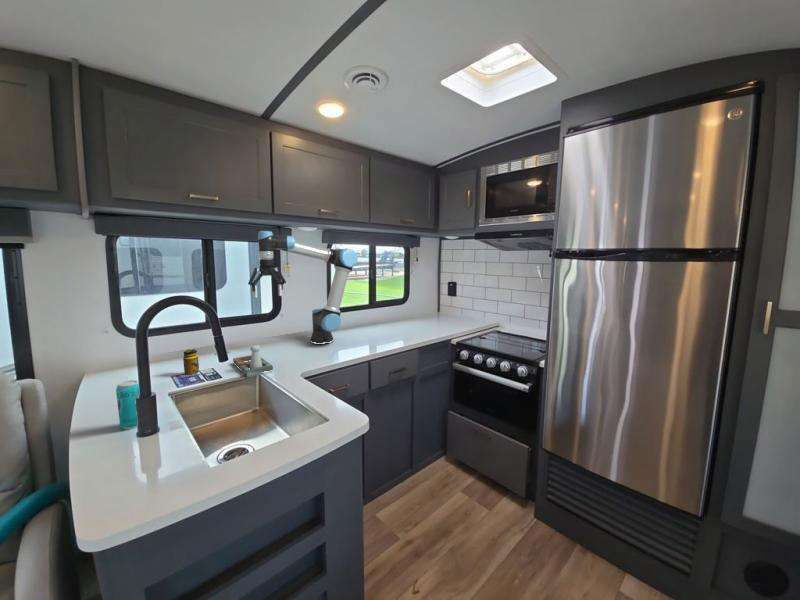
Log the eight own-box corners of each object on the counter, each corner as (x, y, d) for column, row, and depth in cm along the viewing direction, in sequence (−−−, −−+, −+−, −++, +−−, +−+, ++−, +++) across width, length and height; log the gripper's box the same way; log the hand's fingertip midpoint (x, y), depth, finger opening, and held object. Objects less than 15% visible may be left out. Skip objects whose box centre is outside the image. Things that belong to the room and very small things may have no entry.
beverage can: (120, 425, 106) (115, 382, 104) (142, 420, 110) (138, 378, 108) (120, 432, 102) (115, 388, 100) (143, 426, 106) (138, 383, 104)
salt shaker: (256, 373, 155) (254, 347, 154) (247, 372, 158) (245, 346, 156) (265, 369, 161) (264, 344, 159) (256, 368, 163) (255, 343, 161)
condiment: (201, 374, 154) (200, 350, 152) (181, 379, 148) (179, 354, 146) (198, 371, 159) (196, 347, 157) (177, 375, 153) (175, 351, 151)
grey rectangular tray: (233, 363, 170) (233, 358, 170) (257, 359, 178) (256, 354, 177) (247, 377, 150) (247, 371, 150) (273, 371, 158) (272, 365, 158)
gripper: (244, 259, 167) (246, 298, 170) (290, 259, 183) (292, 295, 186) (240, 259, 173) (242, 297, 176) (285, 259, 189) (287, 294, 192)
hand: (268, 296), depth 181 cm, fingers open, 13 cm apart
